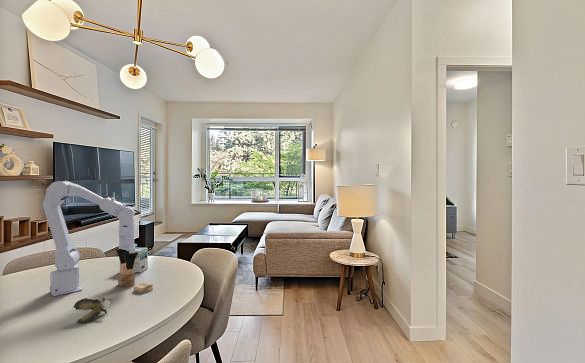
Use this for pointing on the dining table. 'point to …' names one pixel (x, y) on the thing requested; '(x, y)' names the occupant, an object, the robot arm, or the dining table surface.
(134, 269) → the light bulb box
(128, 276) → the tower top
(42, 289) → the dining table surface
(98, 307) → the eagle figurine
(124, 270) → the terracotta cube
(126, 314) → the dining table surface
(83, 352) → the dining table surface
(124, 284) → the tower base
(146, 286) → the slab
